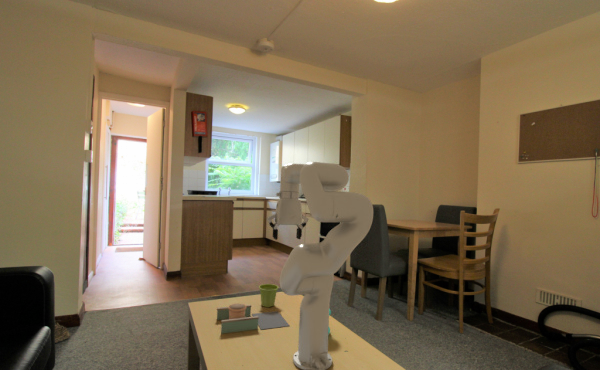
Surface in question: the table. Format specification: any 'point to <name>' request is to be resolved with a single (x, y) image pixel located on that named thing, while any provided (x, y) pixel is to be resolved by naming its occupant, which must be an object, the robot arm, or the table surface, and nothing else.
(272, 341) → the table surface
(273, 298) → the plant pot
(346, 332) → the table surface
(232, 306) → the seedling pot
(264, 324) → the mat
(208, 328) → the table surface
